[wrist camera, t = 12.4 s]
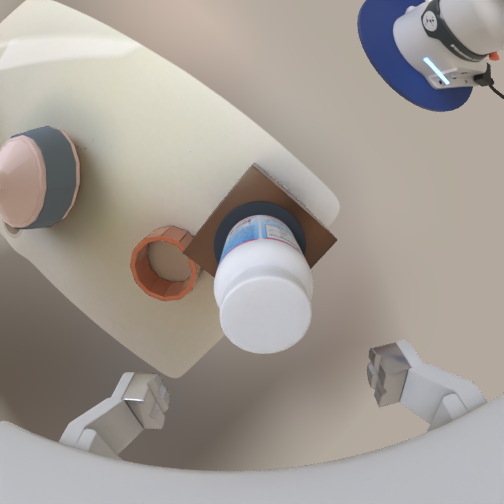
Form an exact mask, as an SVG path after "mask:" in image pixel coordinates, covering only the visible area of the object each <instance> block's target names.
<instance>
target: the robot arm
mask: <svg viewBox="0 0 504 504" xmlns="http://www.w3.org/2000/svg"><path fill="white" fill-rule="evenodd" d="M393 35H394V39H395V42H396V45H397V47H398V49H399V51H400V52H401V54H402V55H403V57H404V58H405V59H406V61H407V62H408V63H409V64H410V65H411V66H412V67H413V68H415V69H416V70H417V71H418V72H420V73H421V74H422V75H423V76H424V77H425V78H426V80H427V81H428V82H429V84H430V85H431V86H432V87H433V88H434V89H446V88H457V87H472V86H478V85H481V86H487V85H489V87H490V88H491V89H492V90H493V91H494V92H495V93H496V94H497V95H499V96H500V97H501V98H503V99H504V95H502V94H501V93H500V92H499V91H497V90H496V89H495V88H494V87H493V86H492V85H493V84H494V81H493V79H492V78H491V72H490V71H491V70H490V65H489V64H488V63H487V61H486V56H487V55H488V54H489V58H490V59H491V60H499V57H498V55H497V51H499V50H503V49H504V0H428V1H426V2H424V3H422V4H420V5H419V6H417V7H414V6H410V7H408V8H407V10H406V12H405V14H404V15H403V16H401V17H399V18H398V19H397V20H396V21H395V23H394V26H393ZM439 82H440V83H439ZM369 358H370V361H371V362H370V363H369V364H368V366H367V375H368V381H369V384H370V387H372V388H373V389H375V393H374V396H375V398H376V401H377V403H378V405H379V407H382V406H386V405H390V404H394V403H397V402H399V403H400V404H402V405H403V406H405V407H406V408H408V409H409V410H410V411H412V412H413V413H415V414H416V415H418V416H419V417H421V418H422V419H423V420H425V421H426V422H428V423H430V426H429V428H428V430H427V432H426V433H424V434H422V435H419V436H416V437H414V438H411V439H408V440H406V441H403V442H400V443H397V444H394V445H391V446H388V447H385V448H382V449H378V450H375V451H371V452H367V453H364V454H360V455H356V456H352V457H348V458H343V459H339V460H334V461H329V462H323V463H318V464H311V465H305V466H298V467H290V468H281V469H269V470H253V471H201V470H185V469H174V468H165V467H157V466H150V465H143V464H137V463H132V462H127V461H123V460H122V459H121V458H120V457H119V456H118V454H119V453H120V452H121V451H122V450H123V449H124V448H125V447H126V446H127V445H128V444H129V443H130V442H131V441H132V440H133V439H134V438H135V437H136V436H137V435H138V434H139V433H140V432H141V431H142V430H143V429H144V428H150V429H162V428H163V425H164V421H165V418H166V417H165V415H164V412H165V411H167V410H168V409H169V405H170V395H169V392H168V390H167V388H166V387H165V386H163V385H162V381H163V380H162V378H161V376H160V374H157V373H131V372H126V373H124V374H123V376H122V378H121V379H120V382H119V383H118V385H117V387H116V389H115V391H114V393H113V395H112V396H111V398H107V399H105V400H104V401H102V402H101V403H100V404H98V405H97V406H95V407H93V408H92V409H90V410H89V411H87V412H86V413H84V414H83V415H81V416H79V417H78V418H77V419H75V420H73V421H72V422H70V423H69V425H68V426H67V428H66V430H65V432H64V434H63V435H62V437H61V439H60V441H59V442H55V441H52V440H49V439H47V438H44V437H42V436H39V435H37V434H34V433H32V432H29V431H27V430H25V429H23V428H21V427H19V426H16V425H14V424H12V423H11V422H8V421H2V422H0V504H504V392H503V393H502V394H500V395H499V396H497V397H496V398H494V399H492V400H491V401H489V402H487V400H486V399H485V397H484V396H483V395H482V393H481V392H480V390H479V389H478V388H477V386H476V385H475V383H474V382H472V381H470V380H467V379H465V378H462V377H460V376H457V375H455V374H452V373H450V372H448V371H445V370H443V369H441V368H438V367H436V366H433V365H430V364H429V363H425V364H424V363H423V362H422V360H421V359H420V357H419V356H418V354H417V353H416V351H415V350H414V349H413V347H412V346H411V344H410V343H409V342H408V340H406V339H404V340H400V341H397V342H394V343H390V344H386V345H383V346H379V347H375V348H371V349H370V351H369Z"/></svg>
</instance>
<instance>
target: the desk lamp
mask: <svg viewBox="0 0 504 504" xmlns="http://www.w3.org/2000/svg"><path fill="white" fill-rule="evenodd" d="M79 184H80V162H79V159H78V156H77V153H76V149H75V146H74V143H73V142H72V141H71V140H70V138H69V137H68V136H67V135H66V133H65V132H64V131H62V130H59V129H56V128H54V127H50V126H45V127H41V128H37V129H34V130H30V131H27V132H24V133H20V134H17V135H14V136H12V137H11V138H10V139H9V140H8V141H7V142H6V143H5V144H4V145H3V146H2V147H1V149H0V216H1V217H2V219H3V220H4V221H5V222H6V223H7V224H9V225H10V226H12V227H14V228H15V229H34V228H44V227H51V226H52V225H54V224H55V223H57V222H59V221H60V220H62V219H63V218H65V217H66V215H67V214H68V212H69V211H70V209H71V208H72V206H73V205H74V203H75V199H76V195H77V192H78V188H79Z"/></svg>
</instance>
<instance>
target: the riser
mask: <svg viewBox="0 0 504 504" xmlns="http://www.w3.org/2000/svg"><path fill="white" fill-rule="evenodd" d="M255 201H264V202H270V203H274V204H277V205H279V206H281V207H283V208H285V209H286V210H288V211H289V212H290V213H291V214H292V215H293V216H294V217H295V218H296V219H297V221H298V222H299V224H300V226H301V227H302V230H303V232H304V236H305V242H306V251H305V256H304V257H305V259H306V261H307V263H308V265H309V267H310V269H311V268H312V267H313V266H314V265H315V264H316V263H317V261H318V260H319V259H320V258H321V257H322V256H323V255H324V254H325V253H326V252H327V251H328V250H329V249H330V248H331V247H332V245H333V244H334V243H335V242H336V241H337V239H336V238H335V237H334V236H333V235H332V233H331V232H330V231H329V230H328V229H327V228H326V227H325V226H324V225H323V224H322V223H321V222H320V221H319V220H318V219H317V218H316V217H315V216H314V215H313V214H312V213H311V212H310V211H309V210H308V209H307V208H306V207H305V206H304V205H303V204H302V203H301V202H300V201H299V200H298V199H296V198H295V197H294V196H293V195H292V194H291V193H290V192H288V191H287V190H286V189H285V188H284V187H283V186H281V185H280V184H279V183H278V182H277V181H276V180H274V179H273V178H272V177H271V176H270V175H268V174H267V173H266V172H265V171H264V170H262V169H261V168H260V167H259V166H258V165H256V164H255V163H253V164H252V165H251V167H250V168H249V169H248V170H247V171H246V173H245V174H244V175H243V176H242V177H241V178H240V180H239V181H238V182H237V183H236V184H235V186H234V187H233V188H232V189H231V191H230V192H229V193H228V194H227V195H226V197H225V198H224V199H223V200H222V202H221V203H220V204H219V205H218V206H217V208H216V209H215V210H214V211H213V213H212V214H211V215H210V217H209V218H208V219H207V220H206V222H205V223H204V224H203V226H202V227H201V228H200V230H199V231H198V232H197V234H196V235H195V236H194V237H193V239H192V240H191V241H190V243H189V244H188V245H187V247H186V248H185V249H184V251H183V254H185V255H186V256H187V257H189V258H190V259H191V260H192V261H194V262H195V263H196V264H198V265H199V266H200V267H202V268H203V269H204V270H205V271H207V272H208V273H209V274H211V275H212V276H213V277H215V275H216V272H217V268H218V264H217V261H216V258H215V254H214V238H215V234H216V231H217V229H218V227H219V225H220V223H221V221H222V220H223V219H224V217H225V216H226V215H227V214H228V213H229V212H231V211H232V210H233V209H235V208H237V207H238V206H241V205H243V204H246V203H249V202H255Z"/></svg>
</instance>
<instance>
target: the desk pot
mask: <svg viewBox="0 0 504 504" xmlns="http://www.w3.org/2000/svg"><path fill="white" fill-rule="evenodd" d="M192 239H193V236H192V235H191V234H190V233H189V232H188V231H185V230H183V229H180V228H177V227H174V226H169V227H163V228H158V229H156V230H155V231H153V232H152V233H151V234H149V235H148V236H147V237H146V238H144V239H143V240H142V241H141V242H140V243H139V244H138V245H137V246H136V247H135V248H134V250H133V254H132V259H131V264H130V265H131V266H130V267H131V270H132V273H133V277H134V280H135V282H136V283H137V284H138V286H139V287H140V288H141V289H142V290H143V291H144V292H145V293H146V294H148V295H149V296H151V297H154V298H156V299H159V300H162V301H163V300H164V301H171V300H179V299H181V298H182V297H184V296H185V295H186V294H187V293H189V292H190V291H191V290H192V289H193V287H194V285H195V282H196V280H197V278H198V276H199V273H200V270H201V267H200V266H199V265H198V264H196V263H195V262H194V261H192V260H191V259H190V258H189V257H188V259H189V263H190V267H191V271H192V275H191V276H190V277H189V278H188V279H187V280H185V281H179V282H170V281H167V280H164V279H162V278H159V276H158V275H157V274H156V273H155V272H154V271H153V270H152V269H151V268H150V265H149V261H148V258H147V251H148V247H149V243H150V242H154V241H160V240H163V241H166V242H169V243H171V244H174V245H177V246H178V247H179V248H180V250H181V251H182V252H183V251H184V249H185V248H186V247H187V245H188V244H189V243H190V241H191V240H192Z"/></svg>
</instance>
